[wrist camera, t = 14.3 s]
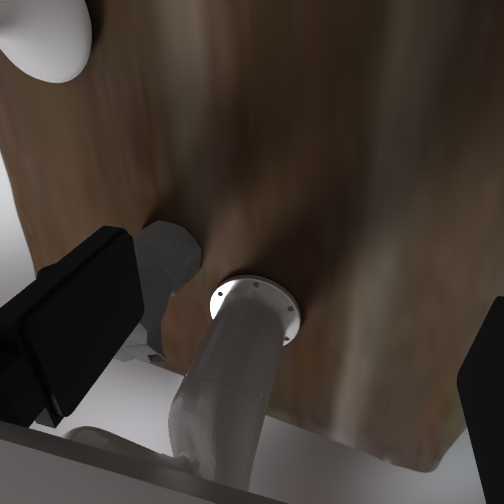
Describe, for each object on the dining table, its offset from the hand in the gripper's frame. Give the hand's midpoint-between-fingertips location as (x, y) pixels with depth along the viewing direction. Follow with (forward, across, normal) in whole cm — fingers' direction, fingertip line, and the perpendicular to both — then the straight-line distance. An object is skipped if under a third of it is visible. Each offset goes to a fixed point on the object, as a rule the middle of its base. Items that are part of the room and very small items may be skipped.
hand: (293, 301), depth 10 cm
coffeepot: (+30, +20, +20) cm, 41 cm away
